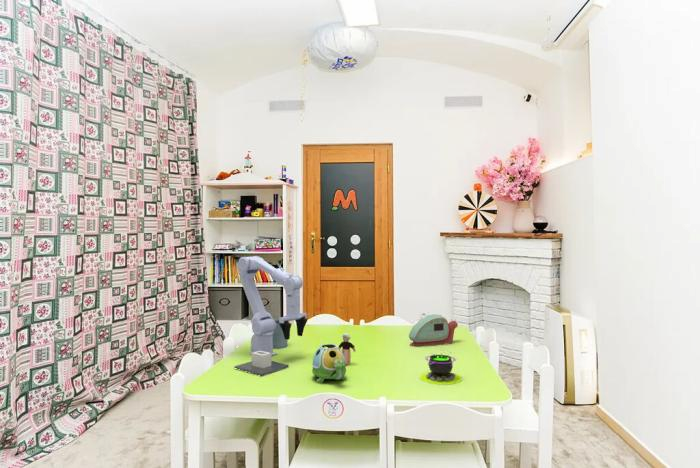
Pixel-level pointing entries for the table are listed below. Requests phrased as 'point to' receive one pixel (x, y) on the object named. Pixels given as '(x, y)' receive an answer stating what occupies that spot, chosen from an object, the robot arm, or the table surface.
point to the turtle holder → (329, 363)
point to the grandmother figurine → (346, 348)
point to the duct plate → (262, 371)
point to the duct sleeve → (261, 359)
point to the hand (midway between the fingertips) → (293, 337)
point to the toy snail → (432, 331)
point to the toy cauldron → (440, 370)
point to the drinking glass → (279, 337)
